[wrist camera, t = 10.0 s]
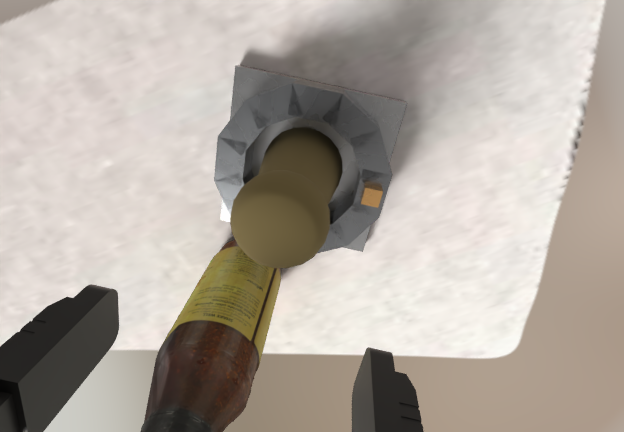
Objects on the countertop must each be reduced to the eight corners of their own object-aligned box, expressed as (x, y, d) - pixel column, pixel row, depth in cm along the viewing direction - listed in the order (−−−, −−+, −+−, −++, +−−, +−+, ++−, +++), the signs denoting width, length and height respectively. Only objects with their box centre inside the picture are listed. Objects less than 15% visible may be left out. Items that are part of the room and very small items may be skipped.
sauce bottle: (204, 247, 33) (23, 489, 15) (265, 225, 31) (147, 467, 13) (237, 303, 35) (116, 573, 17) (297, 286, 34) (232, 562, 16)
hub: (224, 214, 31) (205, 238, 27) (239, 65, 26) (219, 68, 22) (362, 245, 31) (363, 274, 27) (405, 101, 26) (414, 111, 22)
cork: (357, 183, 28) (358, 259, 18) (289, 216, 30) (256, 302, 20) (317, 111, 26) (295, 152, 16) (248, 151, 28) (188, 210, 18)
